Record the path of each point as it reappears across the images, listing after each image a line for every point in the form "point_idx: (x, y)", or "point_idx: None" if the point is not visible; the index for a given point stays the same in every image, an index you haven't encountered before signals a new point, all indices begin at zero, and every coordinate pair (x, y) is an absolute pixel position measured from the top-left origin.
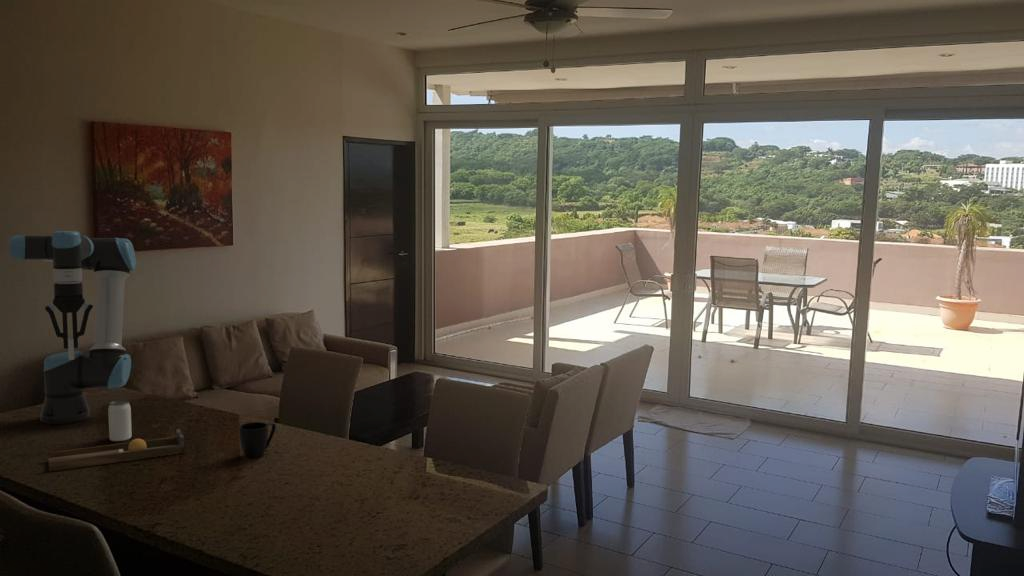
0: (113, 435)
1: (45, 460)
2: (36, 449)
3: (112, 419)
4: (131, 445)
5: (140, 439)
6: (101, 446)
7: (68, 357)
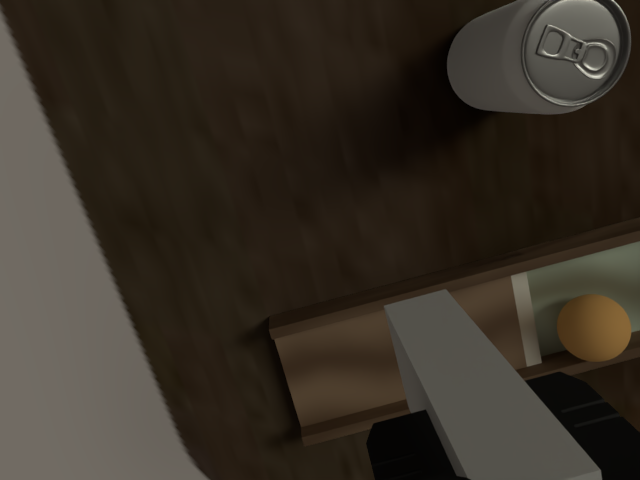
0: (476, 105)
1: (254, 306)
2: (171, 155)
3: (504, 106)
4: (580, 356)
5: (622, 341)
6: (456, 289)
7: (387, 316)
